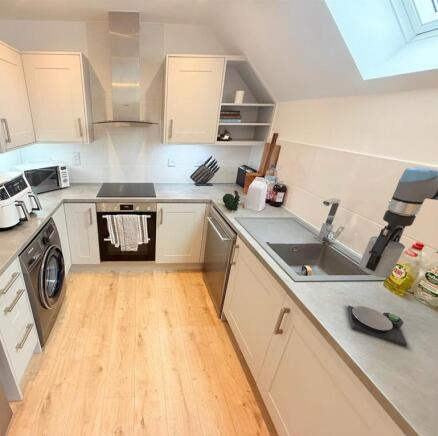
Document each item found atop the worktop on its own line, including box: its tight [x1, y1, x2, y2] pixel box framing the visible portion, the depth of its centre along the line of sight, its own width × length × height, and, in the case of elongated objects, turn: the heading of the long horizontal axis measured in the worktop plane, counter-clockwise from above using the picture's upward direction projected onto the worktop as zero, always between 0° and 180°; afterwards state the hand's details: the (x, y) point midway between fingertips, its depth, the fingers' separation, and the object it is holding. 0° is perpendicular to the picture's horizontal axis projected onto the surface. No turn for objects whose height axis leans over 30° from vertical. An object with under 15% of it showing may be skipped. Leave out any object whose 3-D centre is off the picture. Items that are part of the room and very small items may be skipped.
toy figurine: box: [222, 189, 241, 212], centre depth 193 cm, size 9×19×25 cm
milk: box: [243, 176, 268, 212], centre depth 192 cm, size 12×12×26 cm
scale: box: [347, 305, 408, 348], centre depth 86 cm, size 15×13×3 cm
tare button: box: [388, 313, 400, 322], centre depth 86 cm, size 3×3×1 cm
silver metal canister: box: [358, 236, 406, 279], centre depth 90 cm, size 10×10×12 cm
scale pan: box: [352, 305, 393, 331], centre depth 86 cm, size 11×11×1 cm
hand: (376, 265), depth 91 cm, fingers closed on silver metal canister, 9 cm apart
